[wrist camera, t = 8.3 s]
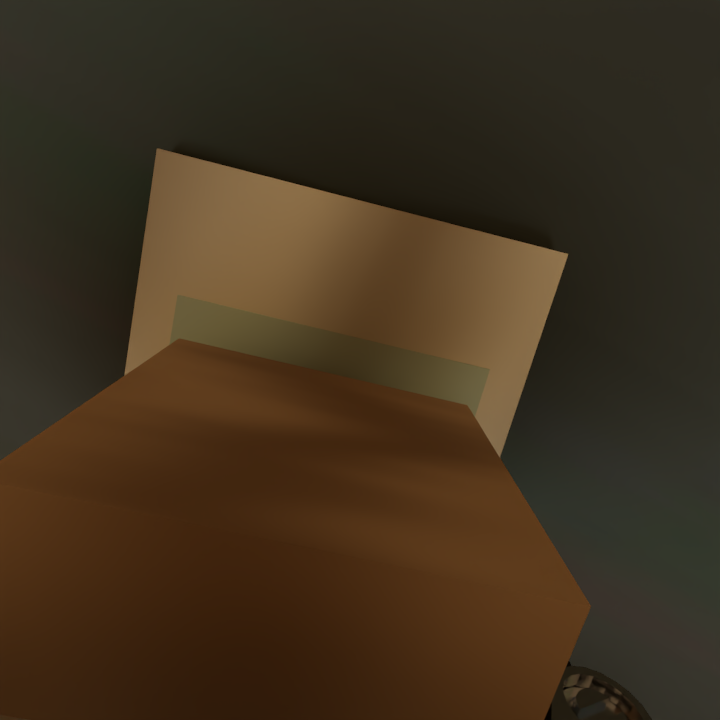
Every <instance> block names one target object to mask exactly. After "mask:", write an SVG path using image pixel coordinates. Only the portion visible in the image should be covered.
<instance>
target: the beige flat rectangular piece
mask: <svg viewBox="0 0 720 720" xmlns="http://www.w3.org/2000/svg"><path fill="white" fill-rule="evenodd" d="M567 257H568V254H566V253H562V252H558V251H554V250H550V249H547V248H543V247H539V246H535V245H531V244H527V243H523V242H519V241H516V240H512V239H508V238H504V237H500V236H496V235H492V234H488V233H484V232H481V231H477V230H473V229H469V228H465V227H461V226H457V225H453V224H449V223H446V222H442V221H438V220H434V219H430V218H426V217H422V216H418V215H415V214H411V213H407V212H403V211H399V210H395V209H391V208H387V207H383V206H380V205H376V204H372V203H368V202H364V201H360V200H356V199H352V198H348V197H345V196H341V195H337V194H333V193H329V192H325V191H321V190H317V189H313V188H310V187H306V186H302V185H298V184H294V183H290V182H286V181H282V180H279V179H275V178H271V177H267V176H263V175H259V174H255V173H251V172H247V171H244V170H240V169H236V168H232V167H228V166H224V165H220V164H216V163H212V162H209V161H205V160H201V159H197V158H193V157H189V156H185V155H181V154H178V153H174V152H170V151H166V150H162V149H158V148H157V152H156V158H155V165H154V172H153V179H152V186H151V193H150V200H149V207H148V214H147V221H146V228H145V235H144V242H143V249H142V256H141V263H140V270H139V277H138V284H137V291H136V298H135V305H134V312H133V319H132V326H131V333H130V340H129V347H128V354H127V361H126V368H125V375H126V374H128V373H129V372H131V371H132V370H133V369H135V368H136V367H138V366H139V365H141V364H142V363H144V362H145V361H147V360H148V359H150V358H151V357H152V356H154V355H155V354H157V353H158V352H160V351H161V350H163V349H164V348H166V347H167V346H169V345H170V344H171V343H173V342H174V341H176V340H177V339H179V338H180V339H185V340H189V341H193V342H197V343H202V344H206V345H210V346H215V347H219V348H223V349H228V350H232V351H236V352H241V353H245V354H249V355H253V356H258V357H262V358H266V359H271V360H275V361H279V362H284V363H288V364H292V365H297V366H301V367H305V368H310V369H314V370H318V371H322V372H327V373H331V374H335V375H340V376H344V377H348V378H353V379H357V380H361V381H366V382H370V383H374V384H378V385H383V386H387V387H391V388H396V389H400V390H404V391H409V392H413V393H417V394H422V395H426V396H430V397H435V398H439V399H443V400H447V401H452V402H456V403H460V404H465V405H468V407H469V408H470V410H471V412H472V413H473V415H474V416H475V418H476V420H477V421H478V423H479V425H480V426H481V428H482V430H483V431H484V433H485V434H486V436H487V438H488V439H489V441H490V443H491V444H492V446H493V447H494V449H495V451H496V452H497V454H498V456H499V457H500V456H501V453H502V450H503V447H504V444H505V441H506V438H507V435H508V432H509V429H510V426H511V423H512V420H513V417H514V414H515V411H516V408H517V405H518V402H519V399H520V396H521V393H522V390H523V387H524V384H525V381H526V378H527V375H528V372H529V370H530V367H531V364H532V361H533V358H534V355H535V352H536V349H537V346H538V343H539V340H540V337H541V334H542V331H543V328H544V325H545V322H546V319H547V316H548V313H549V310H550V307H551V304H552V301H553V298H554V295H555V292H556V289H557V286H558V283H559V281H560V278H561V275H562V272H563V269H564V266H565V263H566V260H567ZM125 375H124V376H125Z"/></svg>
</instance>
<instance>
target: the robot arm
mask: <svg viewBox="0 0 720 720" xmlns="http://www.w3.org/2000/svg"><path fill="white" fill-rule="evenodd" d="M0 720H27V719H21V718H16V717H10V716H4V715H0ZM544 720H652V718H651V717H650V715H649V714H648V713H647V711H646V710H645V708H644V707H643V705H642V704H641V703H640V702H639V701H638V700H637V699H636V698H635V697H634V696H633V695H632V694H631V693H630V692H629V691H628V690H626V689H625V688H624V687H622V686H621V685H620V684H619V683H617V682H616V681H614V680H613V679H611V678H609V677H607V676H605V675H604V674H602V673H600V672H597V671H594V670H592V669H589V668H586V667H579V666H571V664H570V662H569V661H568V663H567V666H566V668H565V671H564V673H563V675H562V678H561V680H560V683H559V685H558V688H557V690H556V692H555V695H554V697H553V700H552V702H551V704H550V707H549V709H548V712H547V714H546V717H545V719H544Z"/></svg>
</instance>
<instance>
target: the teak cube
mask: <svg viewBox="0 0 720 720" xmlns="http://www.w3.org/2000/svg"><path fill="white" fill-rule="evenodd" d="M590 608H591V606H590V604H589V602H588V601H587V599H586V597H585V596H584V594H583V593H582V591H581V589H580V588H579V586H578V584H577V583H576V581H575V579H574V578H573V576H572V575H571V573H570V571H569V570H568V568H567V566H566V565H565V563H564V562H563V560H562V558H561V557H560V555H559V553H558V552H557V550H556V549H555V547H554V545H553V544H552V542H551V540H550V539H549V537H548V535H547V534H546V532H545V531H544V529H543V527H542V526H541V524H540V522H539V521H538V519H537V518H536V516H535V514H534V513H533V511H532V509H531V508H530V506H529V505H528V503H527V501H526V500H525V498H524V496H523V495H522V493H521V491H520V490H519V488H518V487H517V485H516V483H515V482H514V480H513V478H512V477H511V475H510V474H509V472H508V470H507V469H506V467H505V465H504V464H503V462H502V460H501V459H500V457H499V456H498V454H497V452H496V451H495V449H494V447H493V446H492V444H491V443H490V441H489V439H488V438H487V436H486V434H485V433H484V431H483V430H482V428H481V426H480V425H479V423H478V421H477V420H476V418H475V416H474V415H473V413H472V412H471V410H470V408H469V407H468V405H465V404H460V403H456V402H452V401H447V400H443V399H439V398H435V397H430V396H426V395H422V394H417V393H413V392H409V391H404V390H400V389H396V388H391V387H387V386H383V385H378V384H374V383H370V382H366V381H361V380H357V379H353V378H348V377H344V376H340V375H335V374H331V373H327V372H322V371H318V370H314V369H310V368H305V367H301V366H297V365H292V364H288V363H284V362H279V361H275V360H271V359H266V358H262V357H258V356H253V355H249V354H245V353H241V352H236V351H232V350H228V349H223V348H219V347H215V346H210V345H206V344H202V343H197V342H193V341H189V340H185V339H180V338H179V339H177V340H176V341H174V342H173V343H171V344H170V345H169V346H167V347H166V348H164V349H163V350H161V351H160V352H158V353H157V354H155V355H154V356H152V357H151V358H150V359H148V360H147V361H145V362H144V363H142V364H141V365H139V366H138V367H136V368H135V369H133V370H132V371H131V372H129V373H128V374H126V375H125V376H123V377H122V378H120V379H119V380H117V381H116V382H114V383H113V384H112V385H110V386H109V387H107V388H106V389H104V390H103V391H101V392H100V393H98V394H97V395H95V396H94V397H93V398H91V399H90V400H88V401H87V402H85V403H84V404H82V405H81V406H79V407H78V408H77V409H75V410H74V411H72V412H71V413H69V414H68V415H66V416H65V417H63V418H62V419H60V420H59V421H58V422H56V423H55V424H53V425H52V426H50V427H49V428H47V429H46V430H44V431H43V432H41V433H40V434H39V435H37V436H36V437H34V438H33V439H31V440H30V441H28V442H27V443H25V444H24V445H22V446H21V447H20V448H18V449H17V450H15V451H14V452H12V453H11V454H9V455H8V456H6V457H5V458H3V459H2V460H1V461H0V715H4V716H10V717H16V718H21V719H27V720H544V719H545V717H546V714H547V712H548V709H549V707H550V704H551V702H552V700H553V697H554V695H555V692H556V690H557V688H558V685H559V683H560V680H561V678H562V675H563V673H564V671H565V668H566V666H567V663H568V661H569V658H570V656H571V654H572V651H573V649H574V646H575V644H576V642H577V639H578V637H579V634H580V632H581V629H582V627H583V625H584V622H585V620H586V617H587V615H588V612H589V610H590Z"/></svg>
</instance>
